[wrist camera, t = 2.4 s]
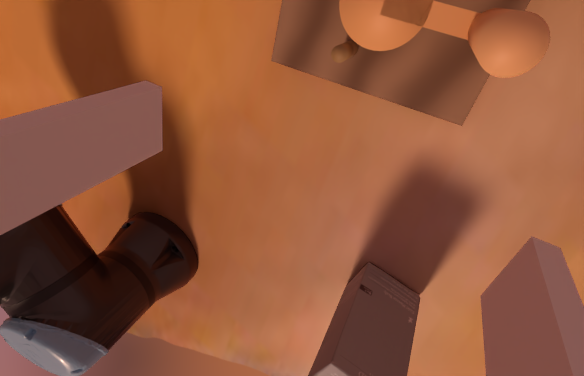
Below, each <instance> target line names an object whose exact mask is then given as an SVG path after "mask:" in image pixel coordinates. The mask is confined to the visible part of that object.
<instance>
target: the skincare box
mask: <svg viewBox="0 0 584 376" xmlns="http://www.w3.org/2000/svg"><path fill="white" fill-rule="evenodd" d="M419 303H420V297H419V294H417V293H415V292H413V291H412V290H410V289H409V288H407V287H406V286H404V285H403V284H401V283H400V282H399V281H397V280H396V279H394V278H393V277H391V276H390V275H388V274H387V273H385V272H384V271H382V270H380V269H379V268H377V267H376V266H374V265H373V264H371V263H369V262H368V263H367V264H366V265H365V266H364V267H363V268H362V269H361V270H360V272H359V273H358V274H357V275H356V276H355V277H354V278H353V279H352V280H351V281H350V282H349V283H348V284H347V285H346V288H345V290H344V292H343V294H342V297H341V299H340V301H339V304H338V306H337V309H336V311H335V313H334V316H333V318H332V321H331V323H330V325H329V328H328V330H327V333H326V335H325V337H324V340H323V342H322V345H321V347H320V349H319V352H318V354H317V356H316V359H315V361H314V363H313V366H312V368H311V370H310V372H309V375H308V376H407V372H408V366H409V360H410V355H411V349H412V343H413V337H414V332H415V326H416V320H417V315H418V309H419Z"/></svg>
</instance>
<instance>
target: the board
mask: <svg viewBox="0 0 584 376" xmlns="http://www.w3.org/2000/svg"><path fill="white" fill-rule="evenodd" d="M339 1H340V0H282V4H281V10H280V16H279V21H278V27H277V32H276V38H275V43H274V49H273V55H272V60H271V61H273V62H276V63H279V64H282V65H285V66H288V67H291V68H294V69H297V70H300V71H302V72H305V73H308V74H311V75H314V76H317V77H320V78H323V79H326V80H329V81H332V82H335V83H338V84H341V85H343V86H346V87H349V88H352V89H355V90H358V91H361V92H364V93H367V94H370V95H373V96H376V97H379V98H382V99H384V100H387V101H390V102H393V103H396V104H399V105H402V106H405V107H408V108H411V109H414V110H417V111H420V112H423V113H426V114H428V115H431V116H434V117H437V118H440V119H443V120H446V121H449V122H452V123H455V124H458V125H461V126H462V125H463V123H464V121H465V119H466V117H467V116H468V114H469V112H470V110H471V108H472V106H473V105H474V103H475V101H476V99H477V97H478V95H479V94H480V92H481V90H482V88H483V86H484V84H485V83H486V81H487V79H488V77H489V75H490V74H489V73H487V72H486V71H485V70H484V69H483V68H482V67H481V65H480V64H479V62H478V60H477V58H476V56H475V54H474V52H473V50H472V48H471V47H470V45H469V42H468V40H466V39H462V38H459V37H455V36H452V35H448V34H445V33H442V32H438V31H435V30H431V29H428V28H424V27H422V28H421V30H420V31H419V32H418V33H417V34H416V35H415V36H414V37H413V38H412V39H411V40H409V41H408V42H407V43H405V44H403V45H402V46H400V47H397V48H395V49H392V50H387V51H373V50H369V49H366V48H364V47H362V46H360V45H358V44H357V43H356V42H354V41H353V40H352V39H351V38H350V36H349V35H348V34H347V32H346V30H345V28H344V26H343V24H342V21H341V17H340V10H339ZM434 1H437V2H441V3H445V4H448V5H452V6H456V7H459V8H463V9H467V10H471V11H474V12H478V13H482V12H484V11H486V10H488V9H492V8H504V9H512V10H521V11H525V9H526V7H527V5H528V4H529V2H530V0H434Z"/></svg>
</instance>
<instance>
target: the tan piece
mask: <svg viewBox="0 0 584 376" xmlns="http://www.w3.org/2000/svg"><path fill="white" fill-rule="evenodd" d="M339 10H340V17H341V21H342V24H343V26H344V28H345V30H346V32H347V34H348V35H349V36H350V38H351V39H352V40H353V41H354V42H356V43H357V44H358V45H360V46H362V47H364V48H366V49H369V50H373V51H387V50H392V49H395V48H397V47H400V46H402V45H403V44H405V43H407V42H408V41H409V40H411V39H412V38H413V37H414V36H415V35H416V34H417V33H418V32H419V31H420V30H421V28H422V27H424V28H428V29H431V30H435V31H438V32H442V33H445V34H448V35H452V36H455V37H459V38H462V39H466V40H468V42H469V45H470V47H471V48H472V50H473V52H474V54H475V56H476V58H477V60H478V62H479V64H480V65H481V67H482V68H483V69H484V70H485V71H486V72H487V73H489V74H491V75H493V76H496V77H501V78H509V77H515V76H518V75H521V74H523V73H525V72H527V71H529V70H530V69H532V68H533V67H534V66H536V65H537V64H538V63H539V62H540V60H541V59H542V58H543V56H544V55H545V53H546V51H547V49H548V46H549V43H550V31H549V27H548V25H547V23H546V22H545V21H544V19H543V18H542V17H540V16H539V15H537V14H535V13H532V12H528V11H521V10H512V9H504V8H492V9H488V10H486V11H484V12H482V13H478V12H474V11H471V10H467V9H463V8H459V7H456V6H452V5H448V4H445V3H441V2H437V1H434V0H340V1H339Z"/></svg>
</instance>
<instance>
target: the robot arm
mask: <svg viewBox="0 0 584 376" xmlns="http://www.w3.org/2000/svg"><path fill="white" fill-rule="evenodd" d="M161 151H163V142H162V87H161V86H158V85H156V84H153V83H151V82H148V81H142V82H138V83H134V84H131V85H127V86H123V87H120V88H116V89H112V90H109V91H105V92H101V93H97V94H94V95H90V96H86V97H83V98H79V99H75V100H72V101H68V102H64V103H60V104H57V105H53V106H49V107H46V108H42V109H38V110H35V111H31V112H27V113H23V114H20V115H16V116H12V117H9V118H5V119H1V120H0V306H1V307H2V308H3V309H4V310H5V311H6V313H7V314H8V315H9V317H10V318H8V319H6V320H5V321H4V322H3V324H2V325H1V326H0V334H1V335H2V336H3V338H4V340H5V341H6V342H7V343H8V344H9V345H10V346H11V347H12V348H13V349H15V350H16V351H17V352H18V353H20V354H21V355H22V356H24V357H25V358H26V359H28V360H30V361H31V362H32V363H34V364H36V365H37V366H39V367H41V368H43V369H45V370H47V371H49V372H51V373H54V374H56V375H59V376H79V375H81V374H83V373H85V372H86V371H87V370H88V369H89V368H90V367H92V366H93V365H94V364H95V363H96V362H97V361H98V360H99V359H100V358H101V357H102V356H104V355H106V354H107V353H108V351H109V350H110V349H111V347H112V346H113V345H114V344H115V343H116V342H117V341H118V340H119V339H120V338H121V337H122V336H123V335H124V334H125V333H126V332H127V331H128V330H129V329H130V328H131V327H132V325H133V324H134V323H135V322H136V321H137V320H138V319H139V318H140V317H141V316H142V315H143V314H144V313H145V312H146V311H147V310H148V309H149V308H150V307H151V306H152V305H153V304H154V303H155V302H156V301H157V300H159V299H161V298H163V297H165V296H167V295H168V294H170V293H172V292H174V291H176V290H177V289H179V288H181V287H183V286H184V285H186V284H187V283H188V282H189V281H190V280H191V278H192V277H193V276H194V275H195V273H196V271H197V267H198V262H197V256H196V253H195V250H194V248H193V246H192V244H191V243H190V241H189V240H188V238H187V237H186V236H185V234H184V233H183V232H182V231H181V230H180V229H179V228H178V227H177V226H176V225H174V224H173V223H172V222H170V221H169V220H167V219H166V218H164V217H162V216H160V215H157V214H154V213H148V212H144V213H139V214H137V215H135V216H134V217H132V218H131V219H129V220H128V221H126V222H125V223H124V224H123V226H122V227H121V228H120V230H119V231H118V232H117V234H116V235H115V237H114V238H113V239H112V241H111V242H110V244H109V245H108V246H107V248H106V249H105V250H104V251H103V252H101V253H100V254H98V255H96V253H95V252H94V250H93V249H92V248H91V246H90V245H89V243H88V242H87V241H86V239H85V238H84V237H83V235H82V234H81V233H80V231H79V230H78V228H77V227H76V225H75V224H74V223H73V221H72V220H71V218H70V217H69V216H68V214H67V213H66V211H65V210H64V208H63V207H62V203H63V202H65V201H67V200H69V199H71V198H73V197H75V196H77V195H79V194H80V193H82V192H84V191H86V190H88V189H90V188H92V187H94V186H96V185H98V184H100V183H102V182H103V181H105V180H107V179H109V178H111V177H113V176H115V175H117V174H119V173H121V172H123V171H125V170H126V169H128V168H130V167H132V166H134V165H136V164H138V163H140V162H142V161H144V160H146V159H148V158H149V157H151V156H153V155H155V154H157V153H159V152H161ZM481 308H482V322H483V337H484V351H485V365H486V376H584V306H583V304H582V301H581V299H580V296H579V294H578V291H577V289H576V286H575V284H574V281H573V278H572V276H571V273H570V271H569V268H568V266H567V263H566V261H565V258H564V256H563V253H562V251H561V248H559V247H557V246H554V245H552V244H549V243H547V242H544V241H542V240H539V239H537V238H534V237H531V238H530V239H529V240H528V241H527V242H526V244H525V245H524V246H523V247H522V248H521V249H520V251H519V252H518V253H517V254H516V255H515V256H514V258H513V259H512V260H511V261H510V262H509V263H508V265H507V266H506V267H505V268H504V269H503V270H502V272H501V273H500V274H499V275H498V276H497V277H496V278H495V280H494V281H493V282H492V283H491V284H490V285H489V287H488V288H487V289H486V290H485V291H484V292H483V294H482V295H481Z"/></svg>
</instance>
